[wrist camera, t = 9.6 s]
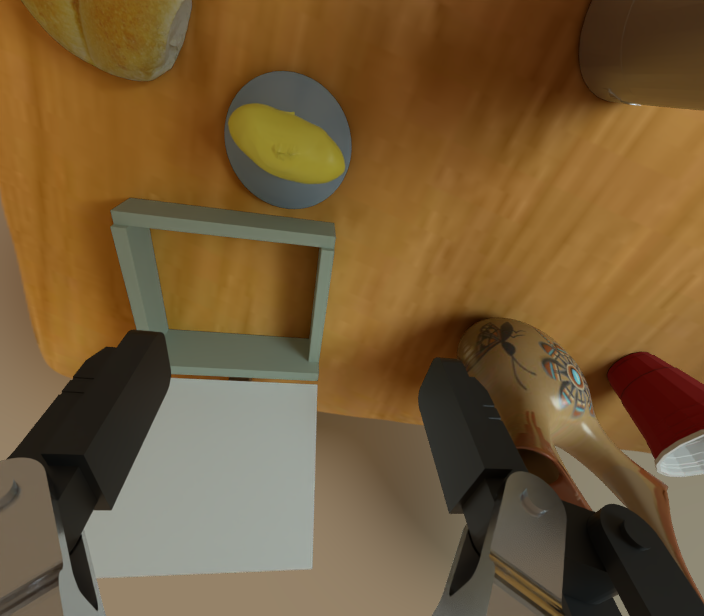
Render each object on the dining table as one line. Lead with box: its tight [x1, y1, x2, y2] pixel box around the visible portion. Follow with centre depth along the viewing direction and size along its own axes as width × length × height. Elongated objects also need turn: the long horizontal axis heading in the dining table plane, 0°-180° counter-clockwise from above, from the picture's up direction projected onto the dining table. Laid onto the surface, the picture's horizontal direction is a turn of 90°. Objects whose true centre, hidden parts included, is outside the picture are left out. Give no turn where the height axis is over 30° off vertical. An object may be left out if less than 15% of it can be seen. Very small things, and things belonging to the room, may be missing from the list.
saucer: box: [225, 71, 351, 209], centre depth 24 cm, size 9×9×1 cm
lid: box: [84, 378, 317, 578], centre depth 27 cm, size 14×16×1 cm
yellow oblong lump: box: [228, 103, 345, 184], centre depth 22 cm, size 4×8×4 cm, turn 63°
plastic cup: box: [607, 352, 704, 477], centre depth 38 cm, size 11×11×12 cm
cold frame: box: [110, 198, 336, 381], centre depth 29 cm, size 14×16×5 cm
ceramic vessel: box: [457, 318, 704, 603], centre depth 27 cm, size 16×9×25 cm, turn 62°
